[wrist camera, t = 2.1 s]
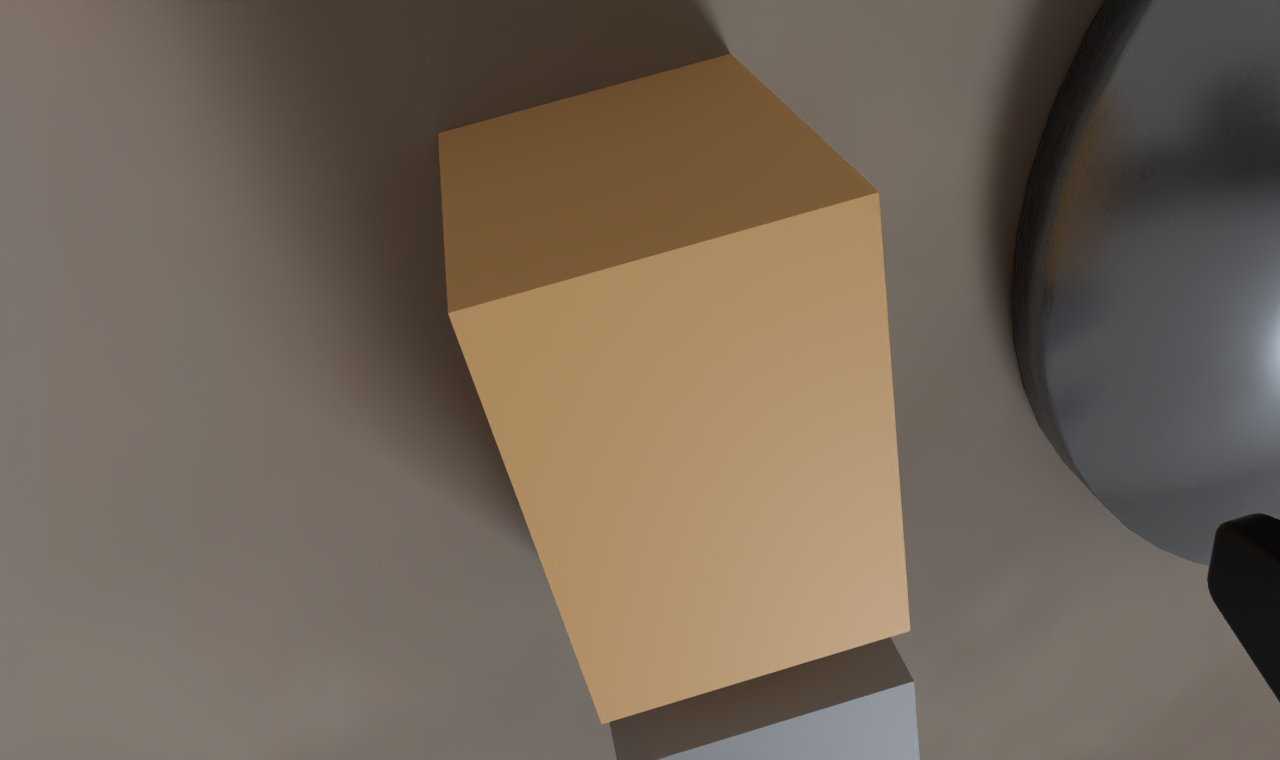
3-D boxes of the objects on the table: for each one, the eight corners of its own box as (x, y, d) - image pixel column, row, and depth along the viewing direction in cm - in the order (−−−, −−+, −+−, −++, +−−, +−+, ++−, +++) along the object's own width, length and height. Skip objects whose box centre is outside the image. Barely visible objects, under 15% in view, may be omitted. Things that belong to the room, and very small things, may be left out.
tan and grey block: (729, 53, 13) (878, 192, 9) (803, 536, 18) (920, 770, 14) (438, 133, 13) (448, 313, 9) (595, 598, 18) (649, 853, 14)
